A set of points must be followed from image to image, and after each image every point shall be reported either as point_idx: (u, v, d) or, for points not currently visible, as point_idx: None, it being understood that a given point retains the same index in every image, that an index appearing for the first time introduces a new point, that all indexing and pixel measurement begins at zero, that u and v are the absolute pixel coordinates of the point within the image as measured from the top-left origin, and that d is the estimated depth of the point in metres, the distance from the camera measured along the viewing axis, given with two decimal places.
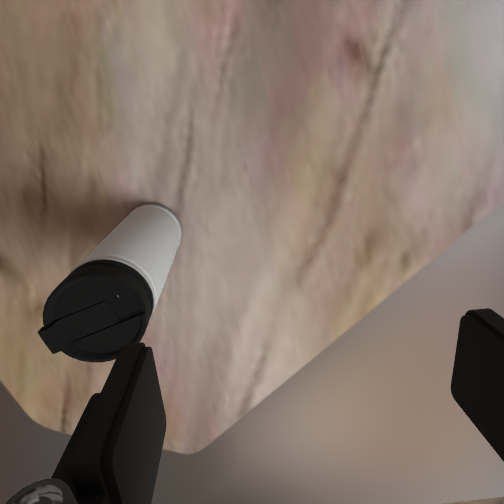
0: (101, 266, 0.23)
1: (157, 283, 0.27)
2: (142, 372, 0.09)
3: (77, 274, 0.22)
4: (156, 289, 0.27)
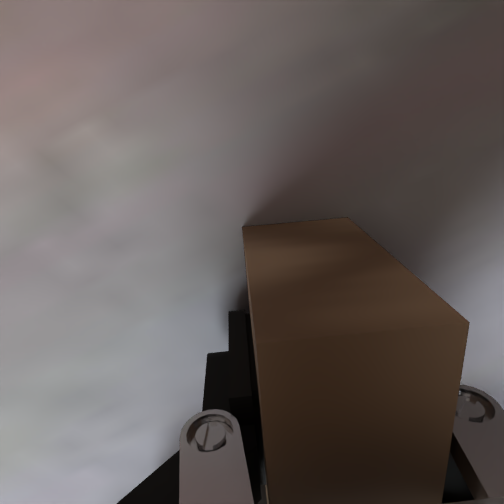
0: None
1: None
2: None
3: None
4: None
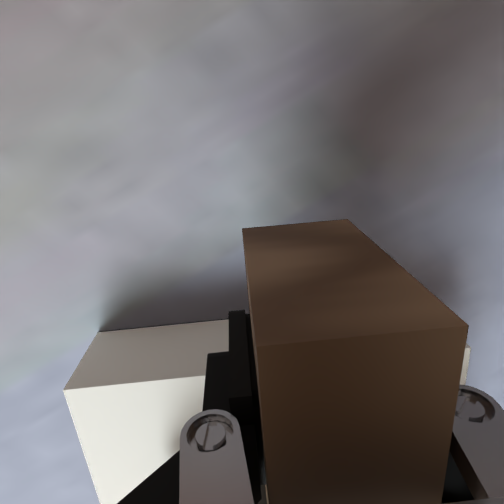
0: None
1: None
2: None
3: None
4: None
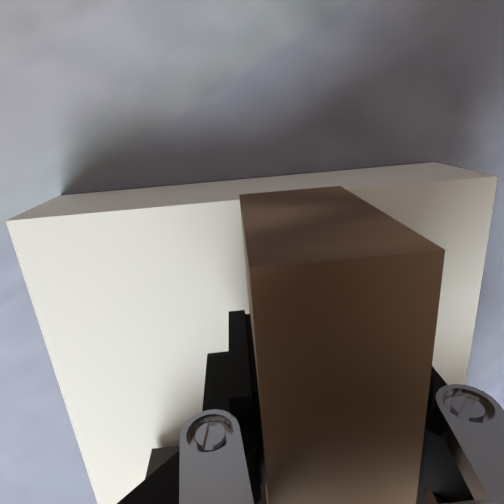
0: None
1: None
2: None
3: None
4: None
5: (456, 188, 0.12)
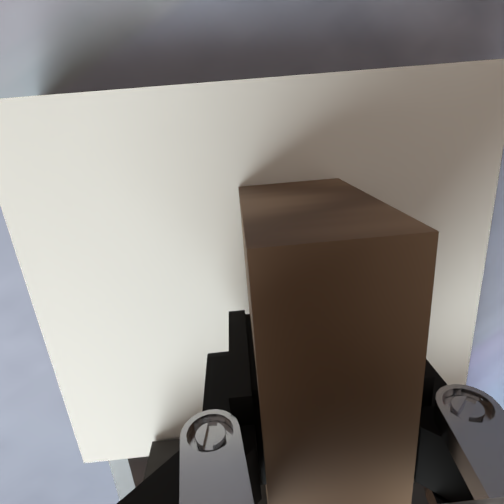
0: None
1: None
2: None
3: None
4: None
5: (471, 71, 0.11)
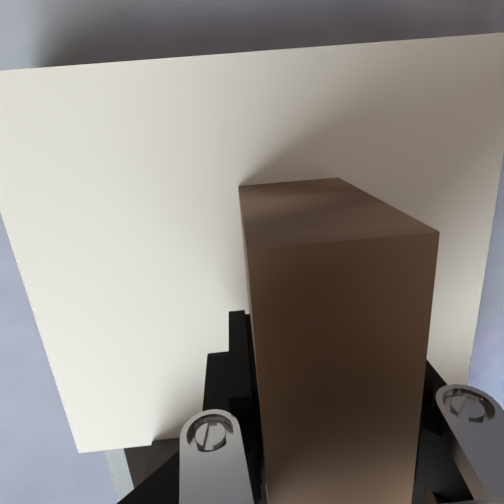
0: None
1: None
2: None
3: None
4: None
5: (475, 45, 0.11)
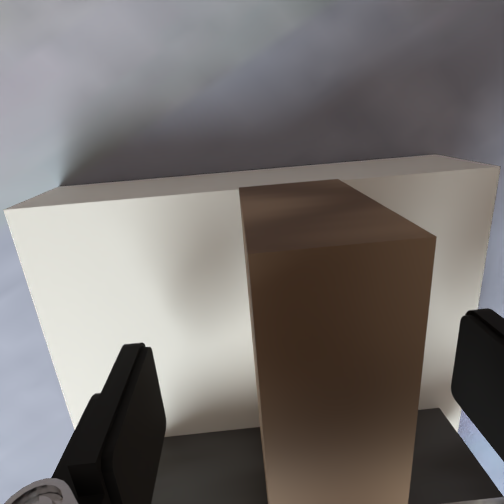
0: None
1: None
2: (142, 372, 0.09)
3: None
4: None
5: (458, 178, 0.12)
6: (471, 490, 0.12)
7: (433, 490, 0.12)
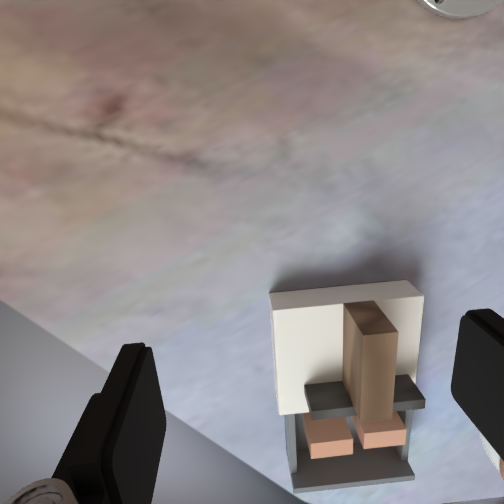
0: None
1: None
2: (142, 372, 0.09)
3: None
4: None
5: (411, 299, 0.39)
6: (415, 397, 0.39)
7: (403, 397, 0.39)
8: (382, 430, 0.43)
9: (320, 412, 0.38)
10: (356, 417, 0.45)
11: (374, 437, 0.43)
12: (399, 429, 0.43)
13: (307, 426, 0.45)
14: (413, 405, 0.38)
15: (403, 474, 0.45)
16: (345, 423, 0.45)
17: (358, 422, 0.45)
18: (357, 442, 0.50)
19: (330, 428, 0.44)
